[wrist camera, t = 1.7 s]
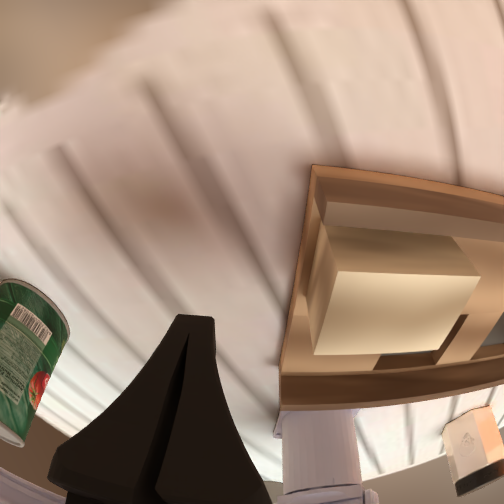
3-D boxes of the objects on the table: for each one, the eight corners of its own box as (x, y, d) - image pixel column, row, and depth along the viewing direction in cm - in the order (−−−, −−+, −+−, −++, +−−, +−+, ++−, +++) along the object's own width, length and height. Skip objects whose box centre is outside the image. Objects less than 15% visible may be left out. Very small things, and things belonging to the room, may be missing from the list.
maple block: (415, 299, 17) (438, 349, 14) (305, 296, 17) (313, 355, 14) (445, 228, 15) (480, 276, 11) (321, 217, 15) (337, 271, 11)
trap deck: (513, 348, 24) (527, 376, 21) (278, 366, 24) (279, 410, 21) (586, 220, 15) (612, 247, 11) (312, 164, 15) (327, 201, 11)
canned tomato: (68, 355, 25) (29, 455, 16) (2, 319, 23) (-46, 408, 14) (73, 306, 21) (14, 431, 12) (-5, 263, 19) (-77, 366, 10)
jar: (484, 400, 31) (506, 472, 21) (494, 409, 34) (514, 471, 24) (432, 430, 35) (447, 500, 25) (449, 435, 38) (463, 496, 28)
